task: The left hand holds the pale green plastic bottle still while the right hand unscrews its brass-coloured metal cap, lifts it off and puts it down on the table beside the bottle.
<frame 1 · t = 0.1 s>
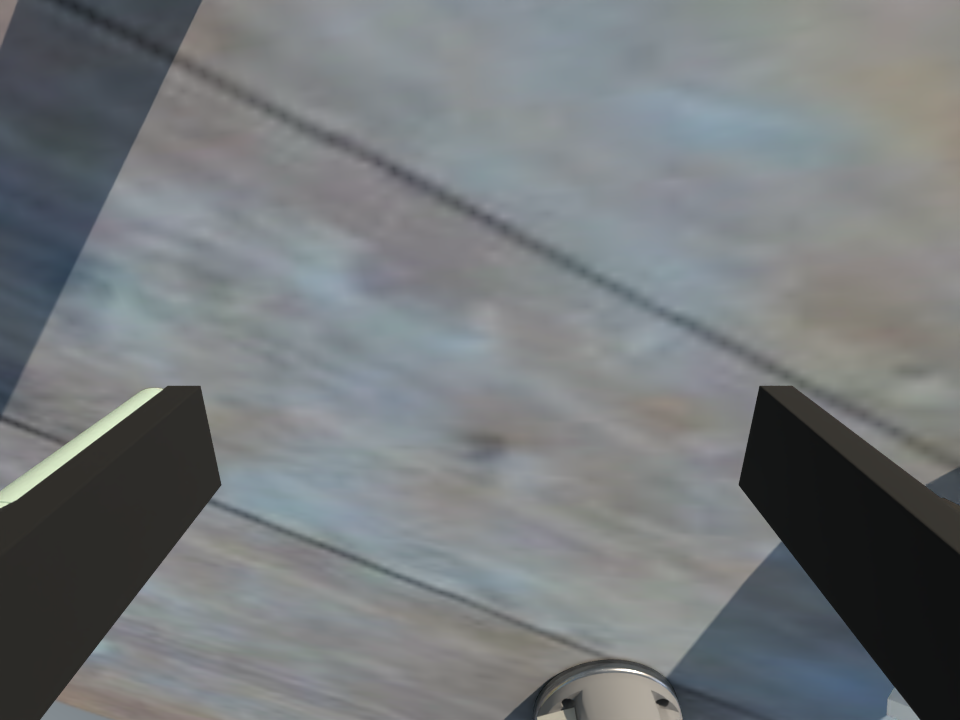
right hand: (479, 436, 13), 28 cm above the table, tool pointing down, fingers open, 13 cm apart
bottle: (159, 412, 44), on the table
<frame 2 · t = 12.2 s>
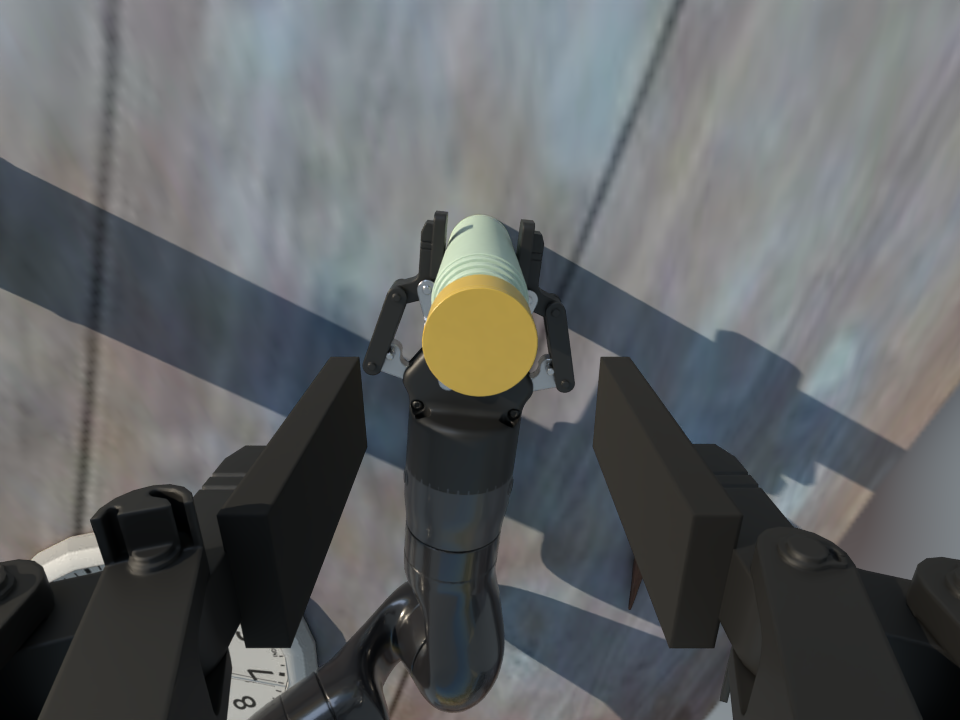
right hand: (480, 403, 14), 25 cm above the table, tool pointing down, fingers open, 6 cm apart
left hand: (485, 218, 31), fingers closed on bottle, 4 cm apart
wall clock: (165, 650, 52), on the table
bottle: (480, 246, 38), on the table, touching left hand
fork: (643, 535, 47), on the table
cap: (480, 341, 19), point 20 cm above the table, screwed on, not yet turned
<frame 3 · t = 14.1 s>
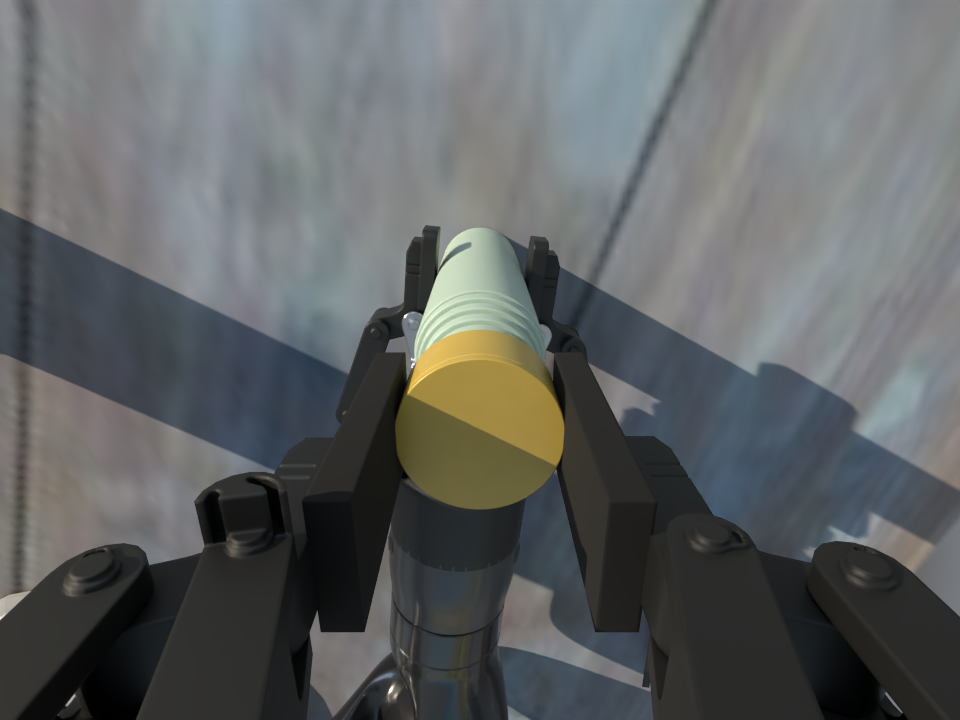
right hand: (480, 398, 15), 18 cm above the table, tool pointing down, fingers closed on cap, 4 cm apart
left hand: (486, 235, 25), fingers closed on bottle, 4 cm apart
wall clock: (123, 717, 46), on the table
bottle: (479, 265, 32), on the table, touching left hand
cap: (479, 432, 13), point 20 cm above the table, screwed on, not yet turned, touching right hand
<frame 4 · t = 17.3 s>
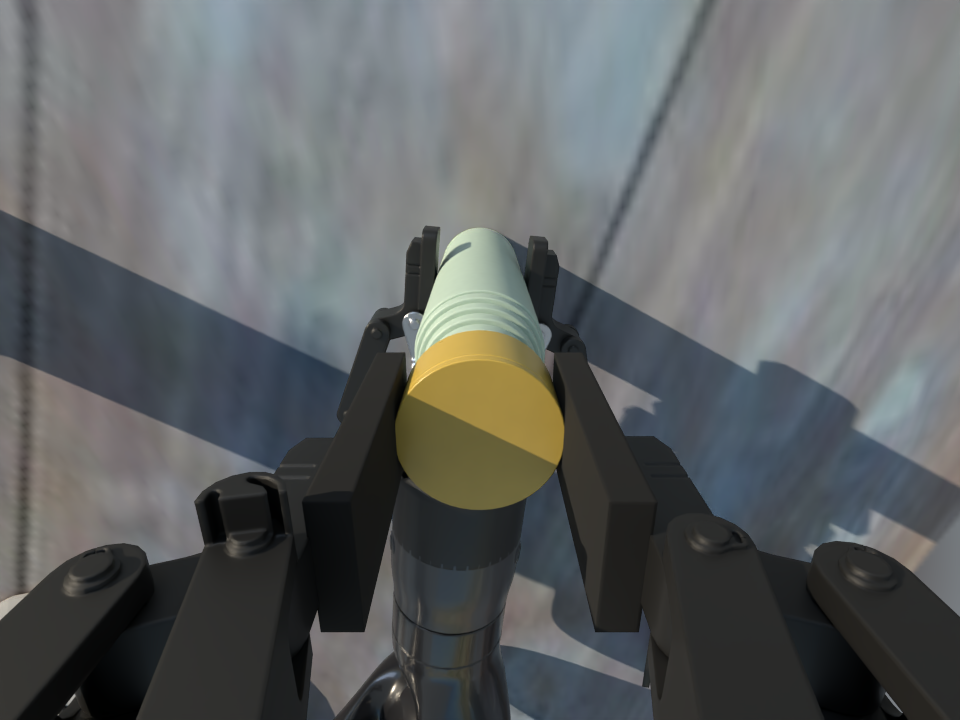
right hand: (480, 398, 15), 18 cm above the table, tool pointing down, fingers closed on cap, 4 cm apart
left hand: (485, 235, 25), fingers closed on bottle, 4 cm apart
wall clock: (127, 717, 46), on the table
bottle: (479, 265, 32), on the table, touching left hand
cap: (479, 433, 13), point 20 cm above the table, turned 109° so far, risen 0.1 cm, still on its thread, touching right hand
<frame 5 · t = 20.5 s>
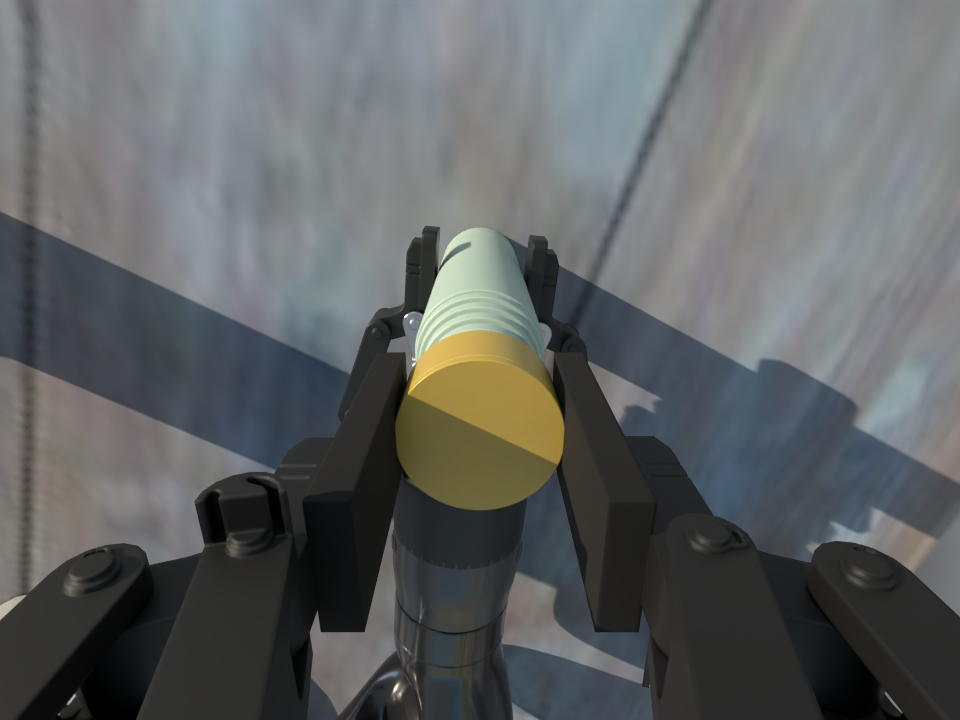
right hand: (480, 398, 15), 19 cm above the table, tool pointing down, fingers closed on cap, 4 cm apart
left hand: (485, 235, 25), fingers closed on bottle, 4 cm apart
bottle: (479, 265, 32), on the table, touching left hand
cap: (479, 433, 13), point 20 cm above the table, turned 217° so far, risen 0.2 cm, still on its thread, touching right hand
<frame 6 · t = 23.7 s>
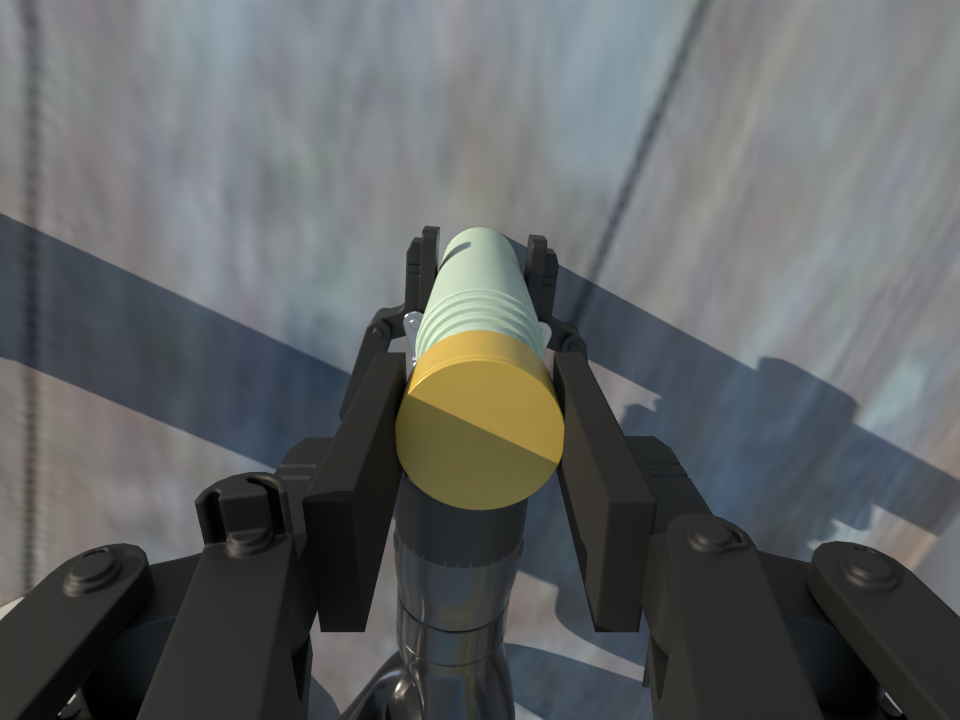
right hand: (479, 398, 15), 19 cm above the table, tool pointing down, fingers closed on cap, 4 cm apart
left hand: (485, 234, 25), fingers closed on bottle, 4 cm apart
bottle: (480, 264, 32), on the table, touching left hand
cap: (479, 433, 13), point 21 cm above the table, turned 326° so far, risen 0.3 cm, still on its thread, touching right hand
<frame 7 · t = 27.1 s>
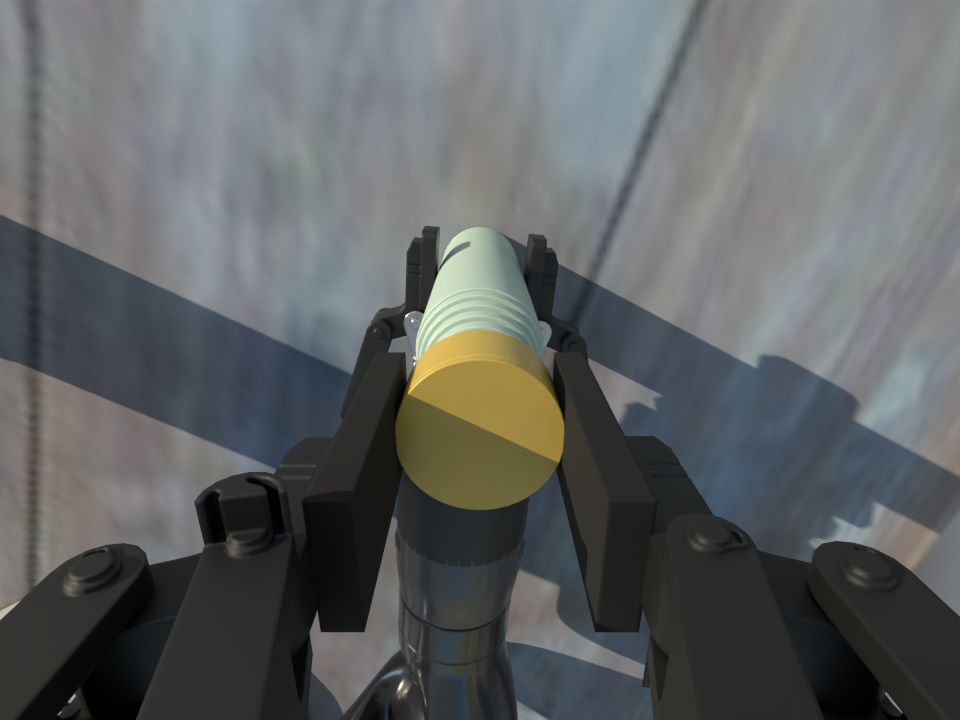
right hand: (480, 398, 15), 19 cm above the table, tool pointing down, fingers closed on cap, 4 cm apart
left hand: (485, 234, 25), fingers closed on bottle, 4 cm apart
bottle: (479, 264, 32), on the table, touching left hand
cap: (479, 433, 13), point 21 cm above the table, turned 435° so far, risen 0.4 cm, still on its thread, touching right hand
when the right hand's fingers open (2 cm above the table, at t = 33.0 s): cap drops 2 cm, point 2 cm above the table.
when the left hand's fingers open (6 cm above the table, at t = 34.2 s): bottle stays where it is, on the table.
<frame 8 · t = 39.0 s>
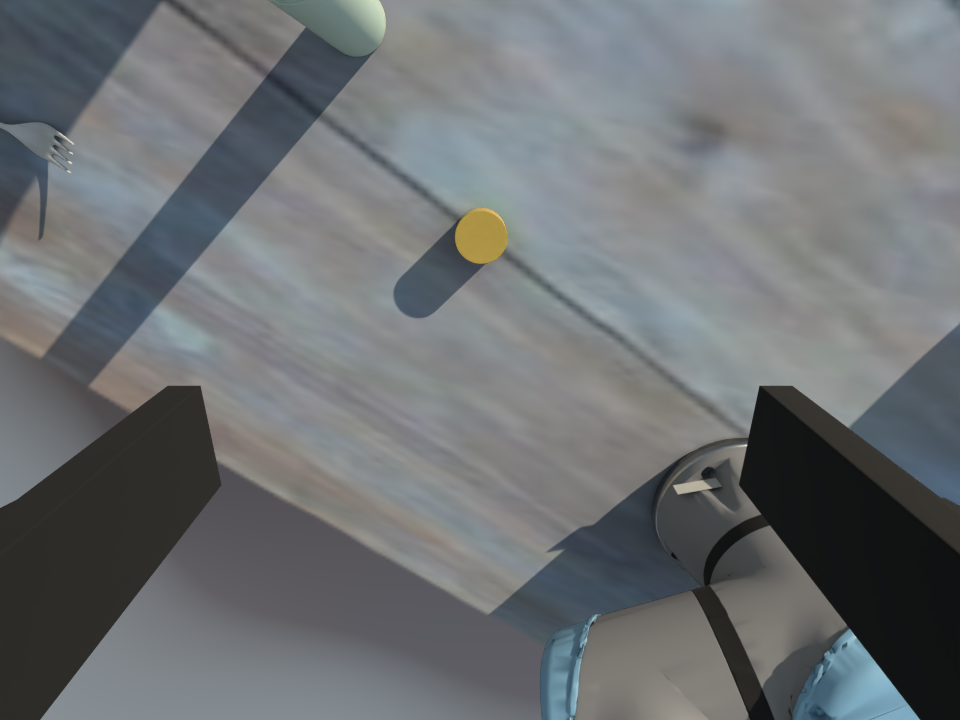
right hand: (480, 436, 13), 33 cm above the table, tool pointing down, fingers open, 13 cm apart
bottle: (354, 21, 38), on the table
cap: (481, 237, 42), point 2 cm above the table, off its thread
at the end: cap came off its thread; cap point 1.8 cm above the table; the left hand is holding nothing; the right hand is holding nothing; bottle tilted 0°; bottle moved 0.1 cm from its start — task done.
